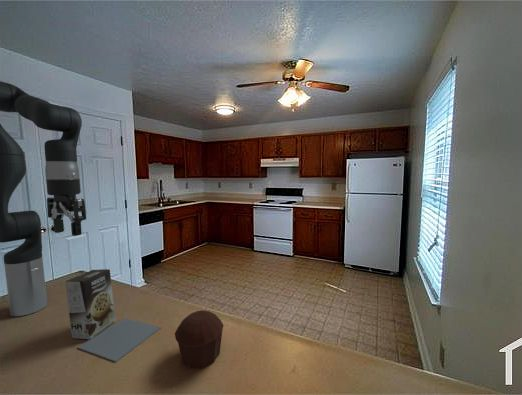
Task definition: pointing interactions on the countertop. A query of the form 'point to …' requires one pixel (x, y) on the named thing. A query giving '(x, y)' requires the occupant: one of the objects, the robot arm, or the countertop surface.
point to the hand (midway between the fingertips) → (67, 233)
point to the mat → (119, 339)
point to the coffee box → (90, 303)
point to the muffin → (199, 339)
